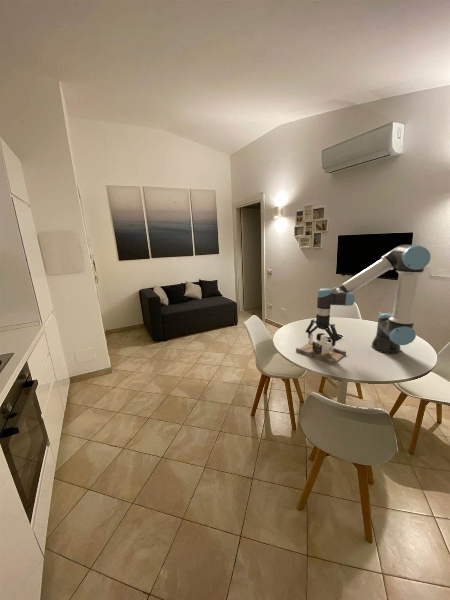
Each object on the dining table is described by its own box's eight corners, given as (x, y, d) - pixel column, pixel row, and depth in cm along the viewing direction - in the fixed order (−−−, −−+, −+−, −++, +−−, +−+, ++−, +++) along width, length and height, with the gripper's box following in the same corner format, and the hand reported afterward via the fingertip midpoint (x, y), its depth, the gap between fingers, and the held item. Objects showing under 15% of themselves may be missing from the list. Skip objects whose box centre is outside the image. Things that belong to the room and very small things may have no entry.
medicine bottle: (312, 351, 152) (313, 333, 149) (320, 348, 155) (321, 331, 152) (321, 355, 146) (322, 337, 143) (329, 353, 149) (331, 335, 146)
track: (345, 354, 147) (346, 351, 147) (333, 364, 137) (333, 361, 136) (309, 343, 165) (309, 340, 164) (296, 351, 154) (296, 348, 154)
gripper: (301, 311, 151) (299, 342, 156) (341, 320, 133) (338, 355, 138) (307, 308, 156) (305, 339, 161) (347, 317, 138) (344, 351, 143)
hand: (320, 346), depth 150 cm, fingers open, 13 cm apart
